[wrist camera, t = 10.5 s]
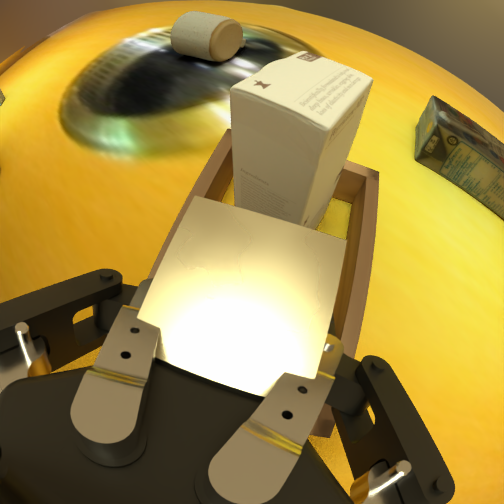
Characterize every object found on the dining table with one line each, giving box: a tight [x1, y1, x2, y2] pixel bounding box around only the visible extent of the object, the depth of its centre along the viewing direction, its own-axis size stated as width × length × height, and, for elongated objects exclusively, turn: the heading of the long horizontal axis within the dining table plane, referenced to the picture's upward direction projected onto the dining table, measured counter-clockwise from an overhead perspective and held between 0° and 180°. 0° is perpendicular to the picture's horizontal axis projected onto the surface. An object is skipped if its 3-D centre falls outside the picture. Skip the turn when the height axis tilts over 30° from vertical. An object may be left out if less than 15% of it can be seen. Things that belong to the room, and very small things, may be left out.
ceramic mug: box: [170, 11, 246, 62], centre depth 29 cm, size 11×8×8 cm
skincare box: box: [230, 51, 373, 230], centre depth 15 cm, size 6×4×12 cm
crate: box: [147, 129, 379, 438], centre depth 17 cm, size 12×18×4 cm, turn 162°
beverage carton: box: [415, 95, 504, 219], centre depth 21 cm, size 8×19×7 cm, turn 64°
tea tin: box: [137, 196, 347, 397], centre depth 11 cm, size 5×5×10 cm
